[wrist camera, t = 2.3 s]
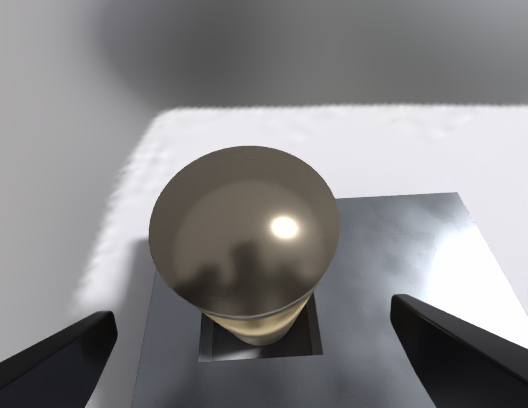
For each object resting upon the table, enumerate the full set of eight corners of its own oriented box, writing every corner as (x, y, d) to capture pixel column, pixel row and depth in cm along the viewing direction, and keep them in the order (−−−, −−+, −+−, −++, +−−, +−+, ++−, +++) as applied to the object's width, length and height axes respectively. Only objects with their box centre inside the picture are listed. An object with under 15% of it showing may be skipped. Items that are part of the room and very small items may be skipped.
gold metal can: (300, 343, 16) (362, 308, 5) (223, 348, 16) (127, 321, 5) (291, 268, 18) (321, 141, 8) (226, 272, 18) (165, 150, 8)
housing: (516, 405, 14) (583, 417, 11) (155, 427, 14) (124, 445, 11) (429, 216, 20) (457, 192, 17) (182, 230, 20) (167, 207, 17)
